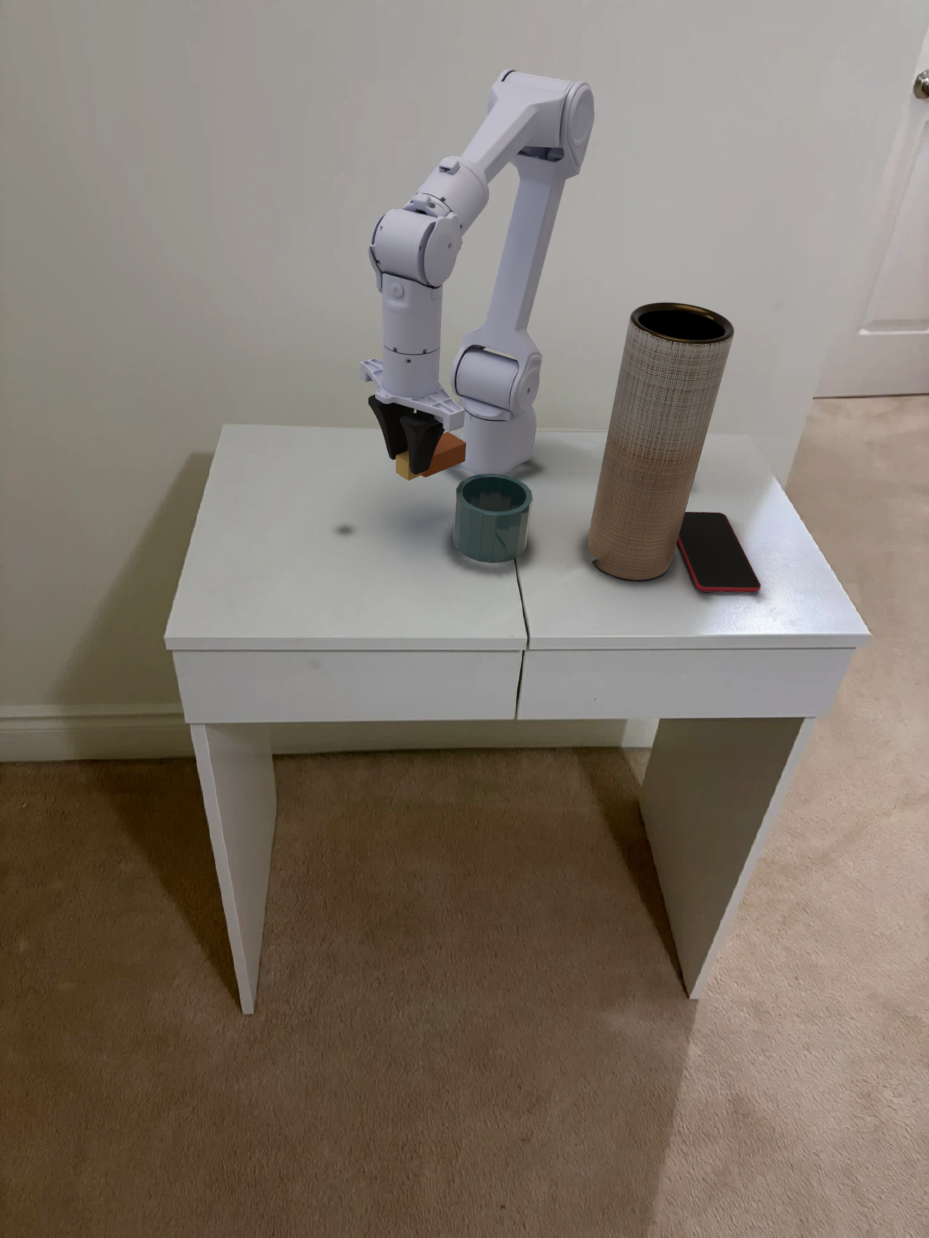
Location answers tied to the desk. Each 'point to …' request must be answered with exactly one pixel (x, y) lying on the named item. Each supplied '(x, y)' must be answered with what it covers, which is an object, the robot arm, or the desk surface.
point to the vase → (656, 435)
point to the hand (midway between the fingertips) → (409, 463)
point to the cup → (492, 517)
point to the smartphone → (715, 554)
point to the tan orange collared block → (435, 457)
